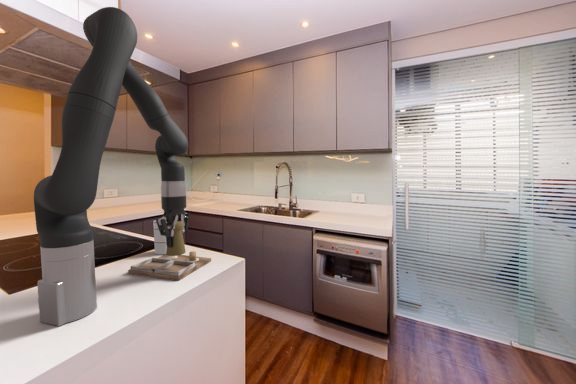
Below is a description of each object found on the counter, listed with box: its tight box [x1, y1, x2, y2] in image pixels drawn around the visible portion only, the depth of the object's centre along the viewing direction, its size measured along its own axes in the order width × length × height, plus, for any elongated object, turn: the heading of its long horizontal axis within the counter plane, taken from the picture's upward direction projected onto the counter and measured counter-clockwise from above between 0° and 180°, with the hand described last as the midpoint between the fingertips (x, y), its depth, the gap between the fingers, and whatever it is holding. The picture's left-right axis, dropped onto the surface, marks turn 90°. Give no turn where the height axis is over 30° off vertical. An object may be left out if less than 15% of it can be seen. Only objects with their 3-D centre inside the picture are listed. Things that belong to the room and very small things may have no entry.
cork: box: [166, 221, 187, 256], centre depth 81 cm, size 6×6×11 cm
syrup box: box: [152, 219, 167, 255], centre depth 103 cm, size 6×6×14 cm
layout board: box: [127, 251, 212, 281], centre depth 87 cm, size 18×20×4 cm
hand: (175, 245), depth 81 cm, fingers closed on cork, 4 cm apart
